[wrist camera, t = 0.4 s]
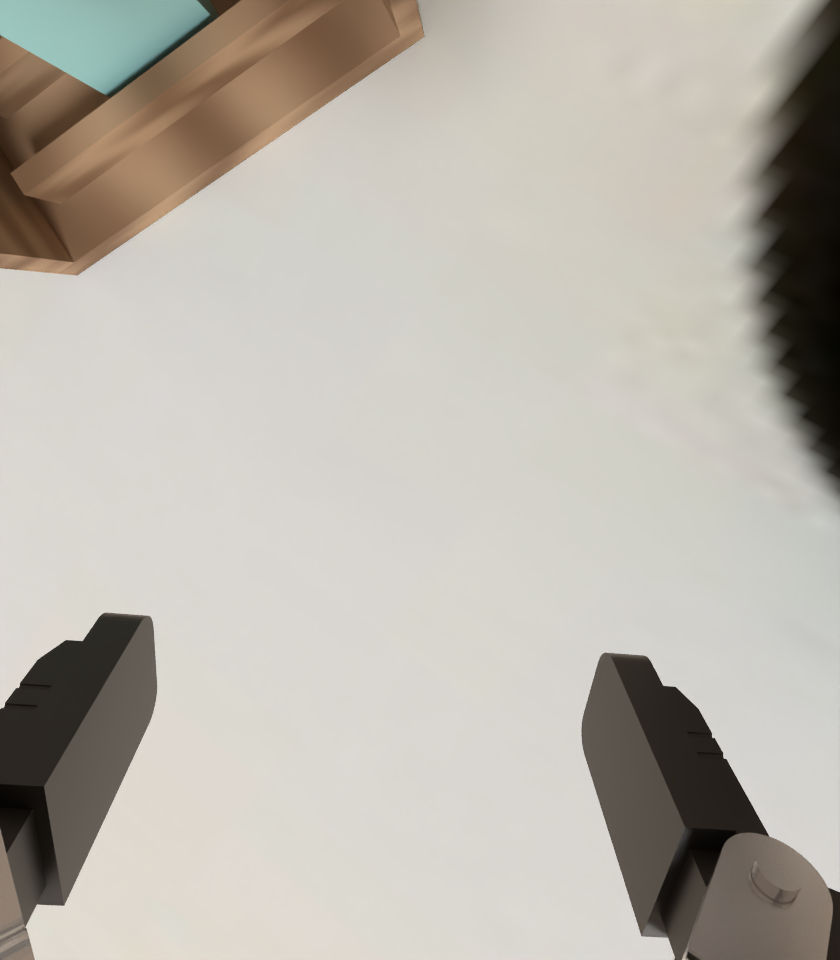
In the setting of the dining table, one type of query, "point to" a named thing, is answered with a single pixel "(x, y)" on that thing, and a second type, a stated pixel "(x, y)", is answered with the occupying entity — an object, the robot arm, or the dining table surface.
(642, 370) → the dining table surface
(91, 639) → the robot arm
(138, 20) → the teal board
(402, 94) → the dining table surface
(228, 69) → the walnut rack
